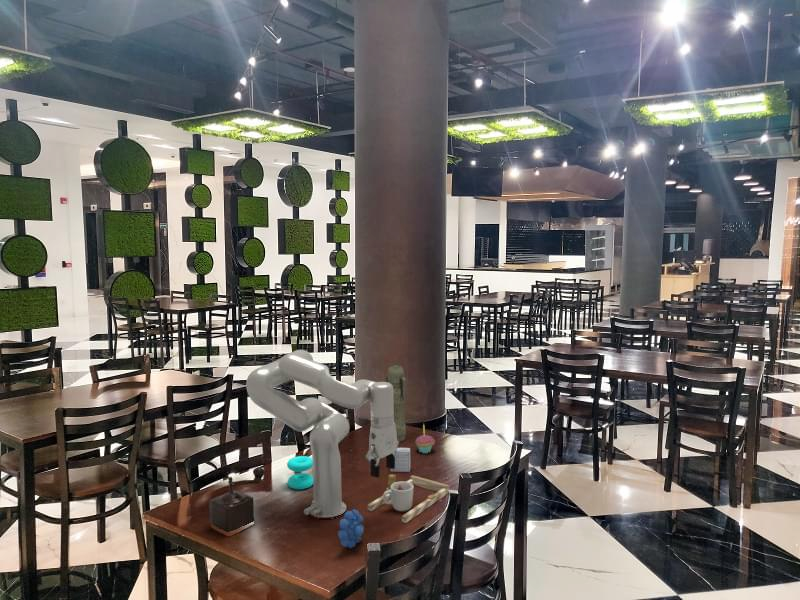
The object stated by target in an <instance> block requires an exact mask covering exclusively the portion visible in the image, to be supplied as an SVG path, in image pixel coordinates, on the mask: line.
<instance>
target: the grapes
mask: <svg viewBox="0 0 800 600" xmlns="http://www.w3.org/2000/svg"><path fill="white" fill-rule="evenodd" d="M343 515H344V516H343V517H344V518H342V519H340V521H339V523H338V524H339V527H340V529H339V530H338V532H337V535H338V536H337V537H338V538H339V539H340V544H341V546H342V547H344V548H346V547H347V548H348V547H349V549H353V548H355V546H356V545H357V544H358V543H360V542H361V540H362V537H361V536H362V535H363V534H364V530H365V529H364V528H365V527H364V525H363V524H362V523H364V518H363V516H362V515H361V514H360V512H359V511H358V509H352V510H346V512H345V513H344V514H343ZM352 547H353V548H352Z"/></svg>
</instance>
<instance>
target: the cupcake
mask: <svg viewBox="0 0 800 600" xmlns="http://www.w3.org/2000/svg"><path fill="white" fill-rule="evenodd" d="M425 426H426V425H425V423H423V425H422V429H423V431H422V433H423V435H422V434H421V435H419V436H418V437H416V439H415V445H416V446H417V448H418V451H419V453H421V452H422V453H421V454H429V453H431V452H432V451H431V450H432V447H433V446H434V445H435V443H436V442H435V439H434V438H433V437H432V435H431V436H430V435H427V434H426V429H425ZM428 452H429V453H428Z"/></svg>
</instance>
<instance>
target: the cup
mask: <svg viewBox="0 0 800 600" xmlns="http://www.w3.org/2000/svg"><path fill="white" fill-rule="evenodd" d="M414 487H415V485H413V484H411V483H409V482H406V481H396V482H395V483H393V484H392V485H391V489H390V490H387V491H386V490H385V491H384V492H383V495H382V496H383V500H384V502H385V503H384V504H385V505H392V507H393V509H394V510H395V511H398V512H408V511H410V510H411V509H412V506H413V500H414V499H413V498H414V497H413V496H414V490H415V489H414ZM387 494H390V495H391V499H390V500H389V501H386V495H387Z"/></svg>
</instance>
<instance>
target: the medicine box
mask: <svg viewBox="0 0 800 600" xmlns="http://www.w3.org/2000/svg"><path fill="white" fill-rule="evenodd" d="M389 469H390V473H393V472H394V473H396V472H398V473H399V472H400V473H410V471H411V448H410V447H397V451H396V456H395V469H391V468H389Z"/></svg>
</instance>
